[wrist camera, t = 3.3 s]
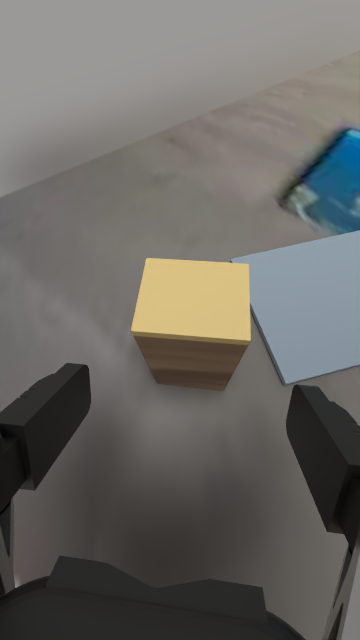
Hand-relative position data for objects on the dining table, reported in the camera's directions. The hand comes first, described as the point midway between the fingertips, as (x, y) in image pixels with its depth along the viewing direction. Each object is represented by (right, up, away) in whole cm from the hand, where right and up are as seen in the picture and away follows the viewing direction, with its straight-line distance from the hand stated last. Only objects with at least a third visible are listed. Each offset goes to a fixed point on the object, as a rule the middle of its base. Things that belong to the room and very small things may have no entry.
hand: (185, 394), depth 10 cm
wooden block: (+1, 0, +10) cm, 10 cm away
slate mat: (+14, +5, +12) cm, 19 cm away
